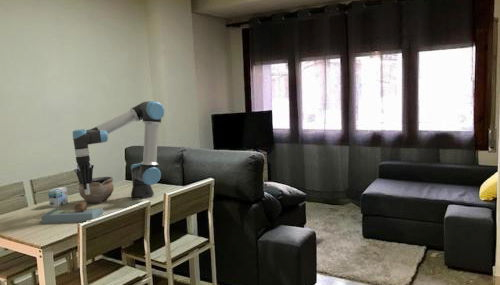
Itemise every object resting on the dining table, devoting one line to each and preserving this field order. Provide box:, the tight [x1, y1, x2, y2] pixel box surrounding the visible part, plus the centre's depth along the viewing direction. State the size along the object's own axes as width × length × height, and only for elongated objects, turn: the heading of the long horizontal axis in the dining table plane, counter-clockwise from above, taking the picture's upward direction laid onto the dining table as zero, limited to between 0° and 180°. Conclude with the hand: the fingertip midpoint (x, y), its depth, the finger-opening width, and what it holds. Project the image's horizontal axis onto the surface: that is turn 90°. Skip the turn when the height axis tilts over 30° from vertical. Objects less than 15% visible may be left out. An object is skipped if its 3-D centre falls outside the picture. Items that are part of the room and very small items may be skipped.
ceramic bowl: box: [77, 176, 114, 204], centre depth 279 cm, size 22×22×15 cm
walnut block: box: [73, 201, 88, 212], centre depth 246 cm, size 5×5×5 cm
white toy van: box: [47, 186, 69, 208], centre depth 275 cm, size 11×7×11 cm, turn 168°
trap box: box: [41, 207, 104, 224], centre depth 243 cm, size 29×16×4 cm, turn 87°
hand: (87, 194), depth 250 cm, fingers closed
